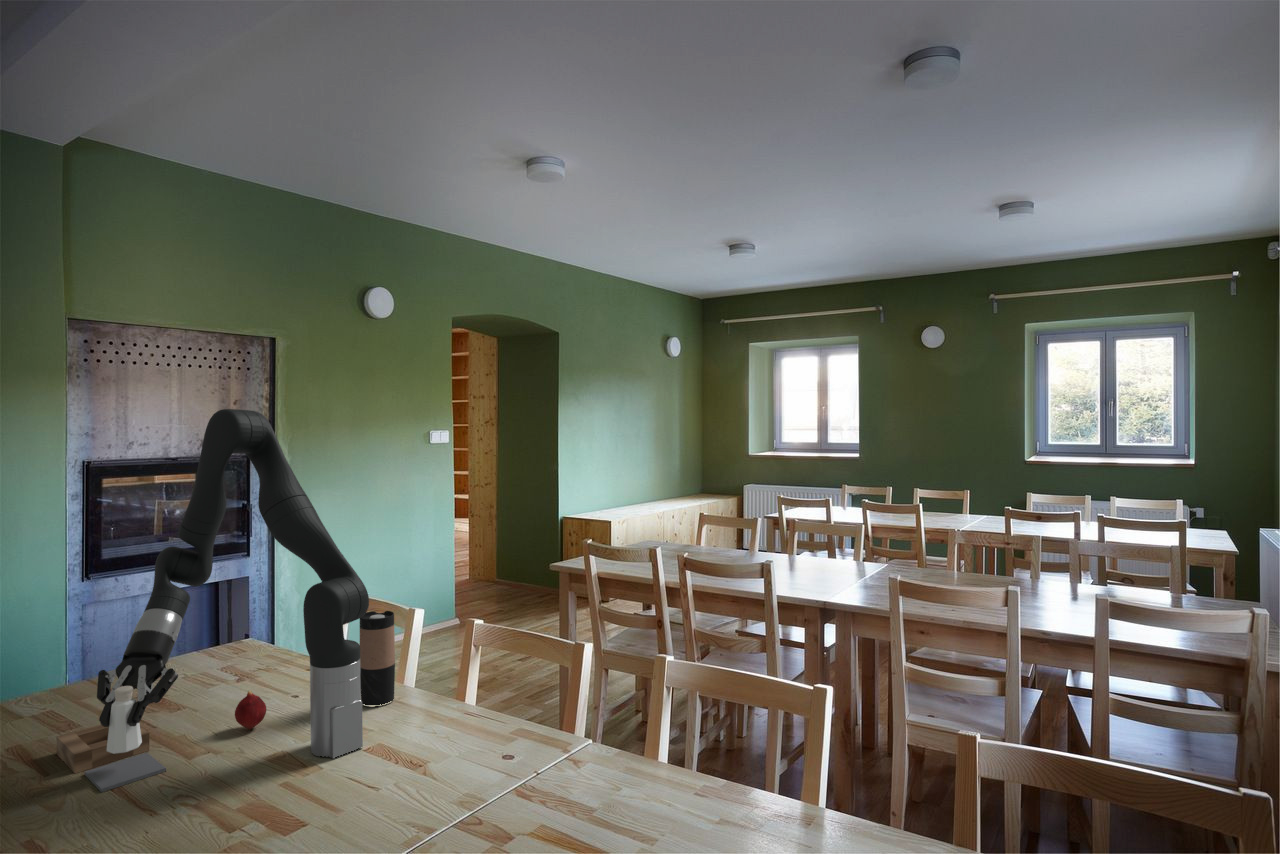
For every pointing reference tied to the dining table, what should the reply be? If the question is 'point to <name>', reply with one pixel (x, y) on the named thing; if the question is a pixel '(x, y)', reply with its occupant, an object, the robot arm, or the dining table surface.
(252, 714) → the onion
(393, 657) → the travel mug
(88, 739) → the socket block
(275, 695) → the dining table surface
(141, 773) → the rubber pad
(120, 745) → the pepper shaker
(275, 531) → the robot arm
